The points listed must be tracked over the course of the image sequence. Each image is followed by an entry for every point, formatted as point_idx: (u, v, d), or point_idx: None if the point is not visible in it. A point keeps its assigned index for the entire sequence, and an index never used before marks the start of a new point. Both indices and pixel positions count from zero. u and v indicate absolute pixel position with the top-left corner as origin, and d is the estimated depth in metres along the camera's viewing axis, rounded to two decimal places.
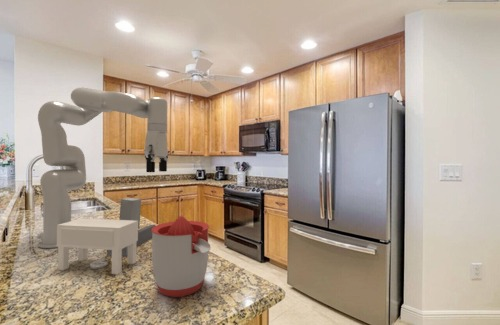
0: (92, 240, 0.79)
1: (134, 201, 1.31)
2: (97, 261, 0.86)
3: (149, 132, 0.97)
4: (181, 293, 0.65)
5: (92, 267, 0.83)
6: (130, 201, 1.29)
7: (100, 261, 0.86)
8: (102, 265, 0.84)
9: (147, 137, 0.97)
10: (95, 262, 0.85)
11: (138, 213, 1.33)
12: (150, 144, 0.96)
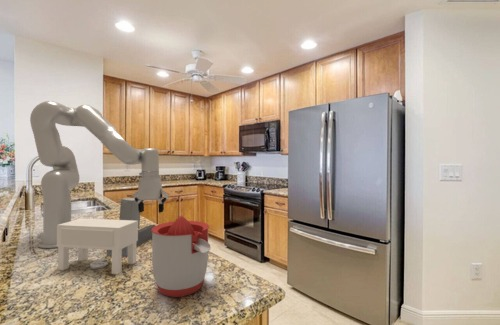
0: (92, 240, 0.79)
1: (134, 201, 1.31)
2: (97, 261, 0.86)
3: (158, 179, 1.15)
4: (181, 293, 0.65)
5: (92, 267, 0.83)
6: (130, 201, 1.29)
7: (100, 261, 0.86)
8: (102, 265, 0.84)
9: (158, 183, 1.15)
10: (95, 262, 0.85)
11: (138, 213, 1.33)
12: (160, 189, 1.16)
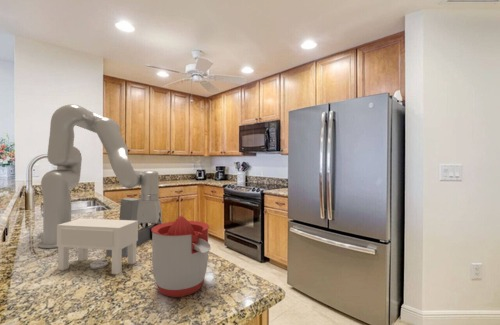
0: (92, 240, 0.79)
1: (134, 201, 1.31)
2: (97, 261, 0.86)
3: (158, 202, 1.15)
4: (181, 293, 0.65)
5: (92, 267, 0.83)
6: (130, 201, 1.29)
7: (100, 261, 0.86)
8: (102, 265, 0.84)
9: (157, 206, 1.15)
10: (95, 262, 0.85)
11: None
12: (159, 212, 1.16)
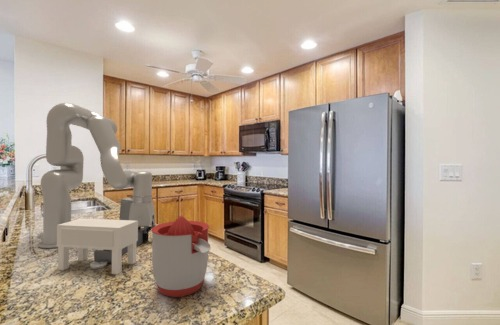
0: (92, 240, 0.79)
1: None
2: (97, 261, 0.86)
3: (151, 204, 1.10)
4: (181, 293, 0.65)
5: (92, 267, 0.83)
6: (130, 201, 1.29)
7: (100, 261, 0.86)
8: (102, 265, 0.84)
9: (150, 209, 1.09)
10: (95, 262, 0.85)
11: None
12: (153, 214, 1.10)
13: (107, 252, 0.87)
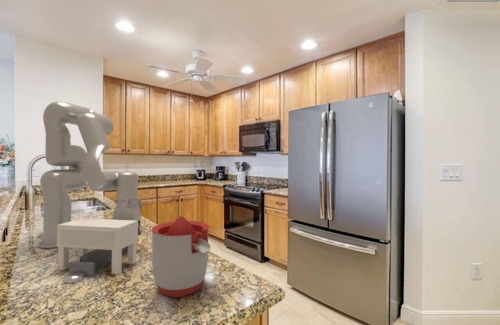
0: (92, 240, 0.79)
1: None
2: (72, 274, 0.75)
3: (136, 208, 0.99)
4: (181, 293, 0.65)
5: (65, 281, 0.73)
6: None
7: (76, 274, 0.76)
8: (76, 279, 0.73)
9: (136, 214, 0.98)
10: (70, 275, 0.75)
11: None
12: (138, 220, 0.99)
13: (83, 264, 0.77)
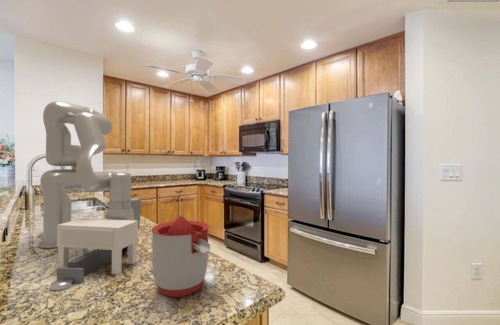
0: (92, 240, 0.79)
1: (134, 201, 1.31)
2: (60, 281, 0.71)
3: (130, 210, 0.95)
4: (181, 293, 0.65)
5: (52, 288, 0.68)
6: None
7: (64, 280, 0.71)
8: (64, 286, 0.69)
9: (129, 216, 0.94)
10: (58, 282, 0.71)
11: (138, 213, 1.33)
12: None
13: (72, 270, 0.73)
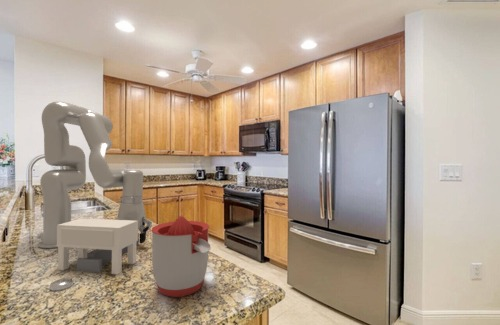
0: (92, 240, 0.79)
1: None
2: (60, 281, 0.71)
3: (141, 205, 1.02)
4: (181, 293, 0.65)
5: (51, 289, 0.68)
6: None
7: (64, 280, 0.71)
8: (63, 286, 0.69)
9: (141, 210, 1.02)
10: (58, 282, 0.71)
11: None
12: (143, 216, 1.03)
13: (91, 260, 0.80)
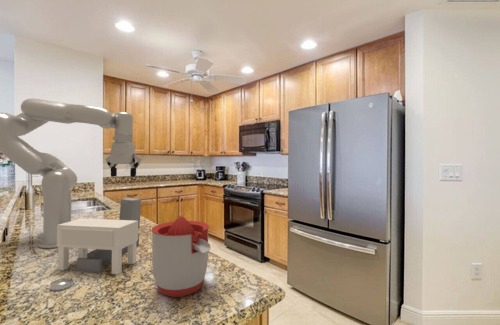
0: (92, 240, 0.79)
1: (134, 201, 1.31)
2: (62, 280, 0.72)
3: (131, 143, 1.15)
4: (181, 293, 0.65)
5: (50, 287, 0.69)
6: (130, 201, 1.30)
7: (64, 280, 0.71)
8: (58, 286, 0.68)
9: (131, 147, 1.14)
10: (59, 281, 0.71)
11: (138, 213, 1.33)
12: (133, 153, 1.16)
13: (91, 260, 0.80)
